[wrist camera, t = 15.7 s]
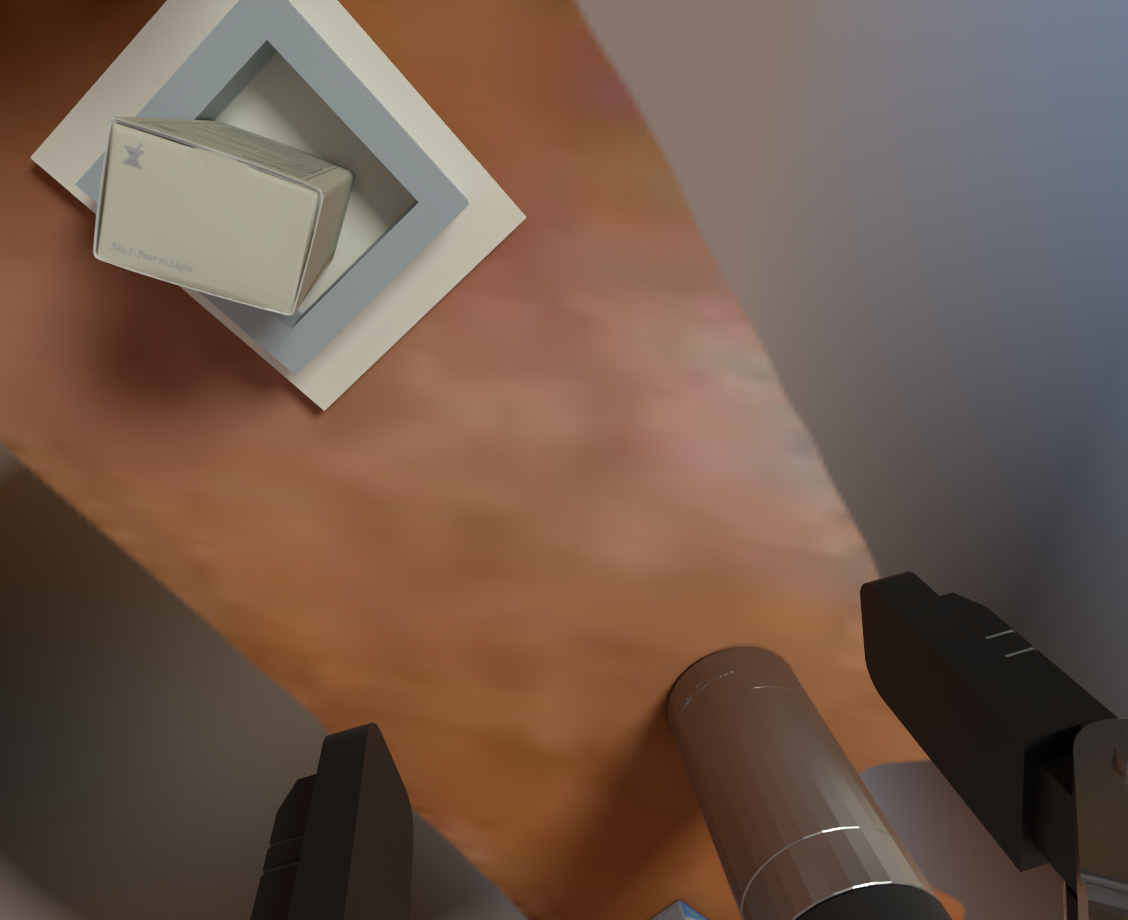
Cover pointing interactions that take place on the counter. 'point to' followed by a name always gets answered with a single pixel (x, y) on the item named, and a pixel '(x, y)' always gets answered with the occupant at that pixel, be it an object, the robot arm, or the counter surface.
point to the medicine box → (678, 913)
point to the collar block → (322, 128)
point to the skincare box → (218, 210)
